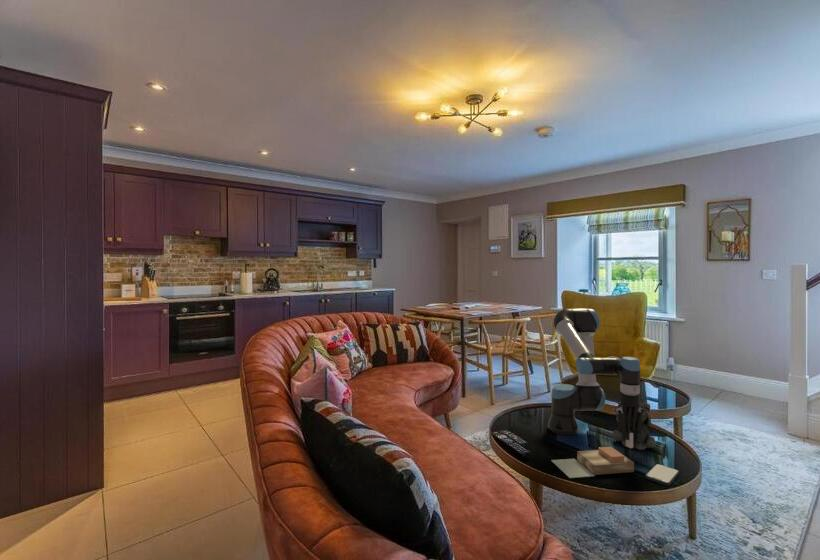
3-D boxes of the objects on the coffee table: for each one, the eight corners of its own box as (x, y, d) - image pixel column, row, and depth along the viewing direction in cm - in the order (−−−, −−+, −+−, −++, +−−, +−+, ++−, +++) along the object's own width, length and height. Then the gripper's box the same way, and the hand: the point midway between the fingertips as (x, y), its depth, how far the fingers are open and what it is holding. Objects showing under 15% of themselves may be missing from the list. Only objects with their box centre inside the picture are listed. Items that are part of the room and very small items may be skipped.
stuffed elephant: (634, 455, 183) (635, 397, 183) (603, 436, 204) (604, 384, 203) (669, 451, 188) (670, 394, 187) (635, 433, 208) (636, 382, 207)
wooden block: (577, 460, 179) (577, 451, 178) (613, 457, 181) (613, 448, 181) (594, 474, 166) (594, 465, 166) (633, 471, 168) (634, 462, 168)
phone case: (656, 466, 174) (644, 479, 163) (656, 463, 174) (644, 475, 163) (680, 474, 168) (669, 487, 157) (680, 470, 168) (669, 483, 157)
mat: (551, 460, 178) (551, 460, 178) (574, 459, 179) (574, 458, 179) (569, 478, 163) (569, 477, 163) (594, 476, 165) (594, 475, 165)
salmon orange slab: (598, 451, 178) (598, 447, 178) (610, 451, 179) (610, 446, 179) (611, 461, 169) (611, 456, 169) (624, 460, 170) (624, 456, 170)
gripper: (622, 396, 170) (621, 451, 170) (649, 395, 172) (649, 449, 172) (610, 391, 177) (610, 444, 177) (637, 390, 179) (636, 442, 179)
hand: (629, 446), depth 175 cm, fingers closed
